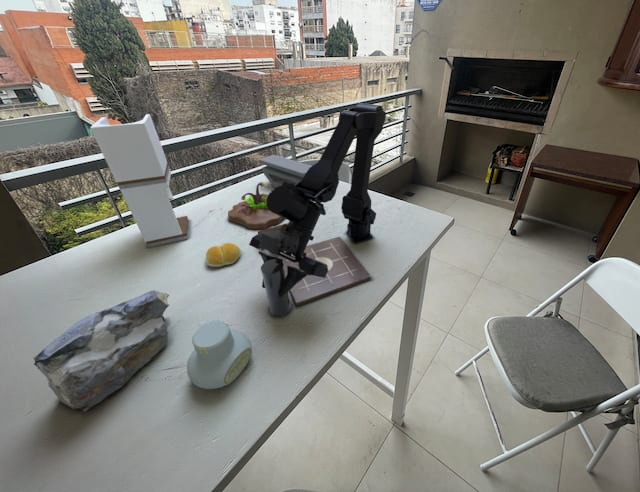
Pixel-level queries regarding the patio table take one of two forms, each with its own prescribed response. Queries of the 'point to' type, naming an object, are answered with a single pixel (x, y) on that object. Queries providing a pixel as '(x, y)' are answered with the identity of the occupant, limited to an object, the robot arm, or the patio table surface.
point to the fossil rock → (104, 350)
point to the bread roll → (222, 255)
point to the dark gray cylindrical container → (275, 287)
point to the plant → (254, 211)
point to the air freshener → (217, 355)
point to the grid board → (340, 271)
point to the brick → (271, 229)
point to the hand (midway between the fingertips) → (271, 292)
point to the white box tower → (142, 177)
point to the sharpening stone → (283, 170)
